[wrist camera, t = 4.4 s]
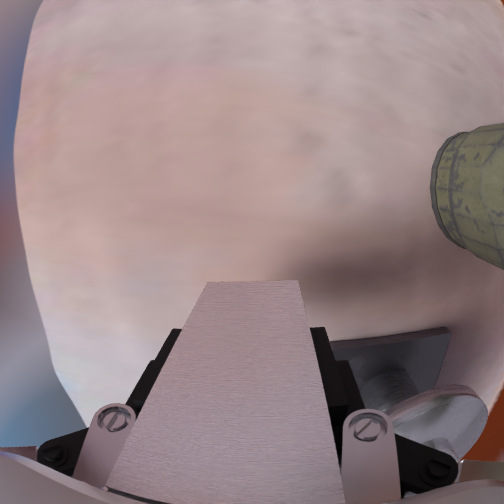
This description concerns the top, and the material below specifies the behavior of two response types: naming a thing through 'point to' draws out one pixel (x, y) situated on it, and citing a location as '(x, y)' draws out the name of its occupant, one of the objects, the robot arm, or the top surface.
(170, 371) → the tall grey block
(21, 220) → the top surface
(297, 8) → the top surface
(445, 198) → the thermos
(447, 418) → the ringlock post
